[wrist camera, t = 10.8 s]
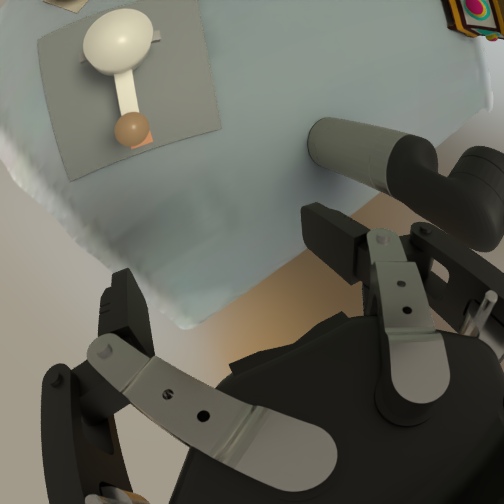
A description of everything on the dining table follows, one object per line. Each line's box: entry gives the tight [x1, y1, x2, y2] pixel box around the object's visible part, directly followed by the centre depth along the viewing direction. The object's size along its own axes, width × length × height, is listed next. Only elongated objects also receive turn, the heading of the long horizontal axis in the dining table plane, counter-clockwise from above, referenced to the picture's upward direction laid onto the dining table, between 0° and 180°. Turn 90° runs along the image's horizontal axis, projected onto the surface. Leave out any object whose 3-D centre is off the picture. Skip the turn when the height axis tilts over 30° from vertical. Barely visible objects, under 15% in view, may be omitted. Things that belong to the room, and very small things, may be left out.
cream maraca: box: [79, 9, 161, 147], centre depth 20 cm, size 15×9×8 cm, turn 7°
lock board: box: [37, 0, 222, 182], centre depth 24 cm, size 22×22×5 cm
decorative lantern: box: [447, 0, 504, 41], centre depth 23 cm, size 20×20×30 cm
